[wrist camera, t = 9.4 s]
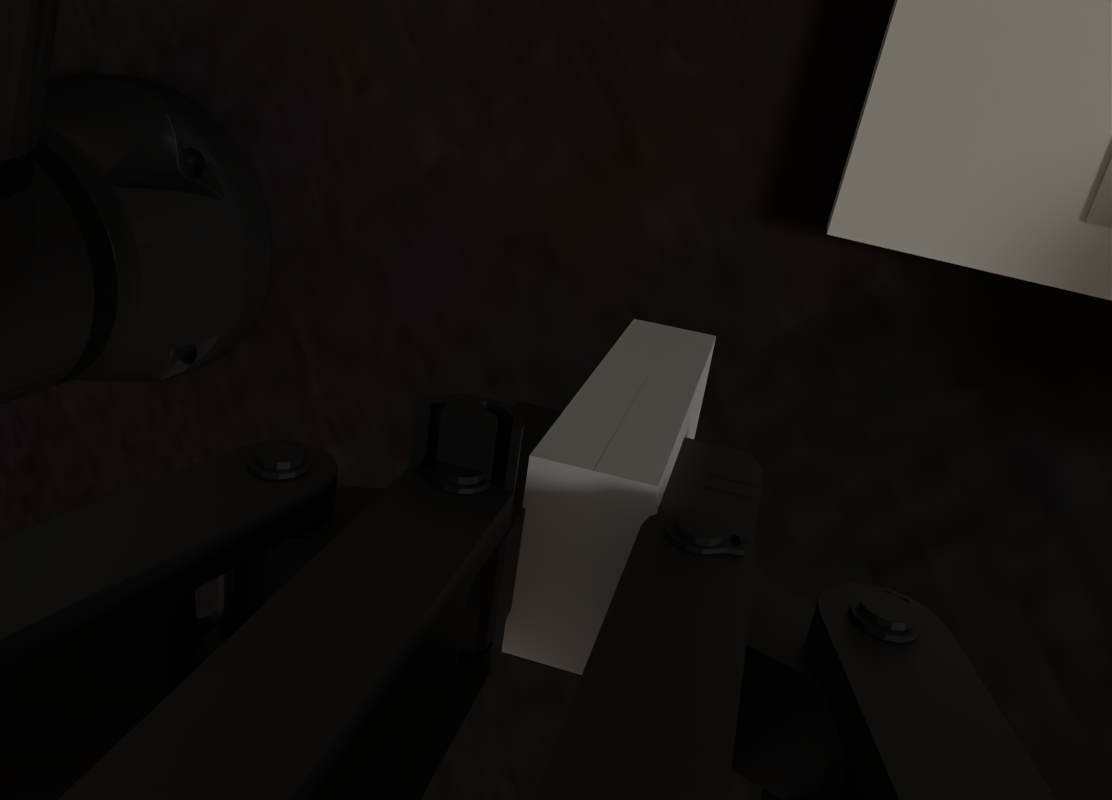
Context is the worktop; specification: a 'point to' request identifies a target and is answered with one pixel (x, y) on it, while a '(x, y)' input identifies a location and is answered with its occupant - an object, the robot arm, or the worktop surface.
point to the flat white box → (989, 141)
